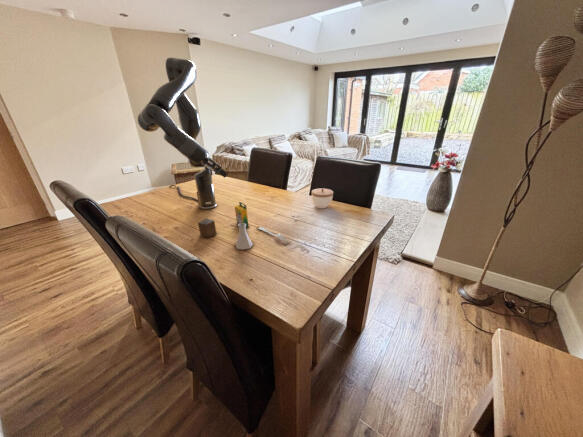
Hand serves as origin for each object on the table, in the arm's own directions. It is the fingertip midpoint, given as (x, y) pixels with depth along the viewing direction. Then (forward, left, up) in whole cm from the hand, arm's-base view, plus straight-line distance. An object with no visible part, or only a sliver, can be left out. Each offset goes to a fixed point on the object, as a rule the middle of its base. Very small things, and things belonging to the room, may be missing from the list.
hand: (222, 174), depth 105 cm
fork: (+23, +2, -27) cm, 36 cm away
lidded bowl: (+30, +46, -27) cm, 62 cm away
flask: (+17, -11, -27) cm, 34 cm away
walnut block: (-4, -11, -27) cm, 29 cm away
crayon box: (+4, +4, -27) cm, 28 cm away
